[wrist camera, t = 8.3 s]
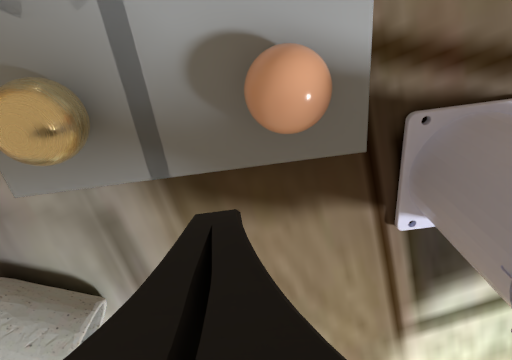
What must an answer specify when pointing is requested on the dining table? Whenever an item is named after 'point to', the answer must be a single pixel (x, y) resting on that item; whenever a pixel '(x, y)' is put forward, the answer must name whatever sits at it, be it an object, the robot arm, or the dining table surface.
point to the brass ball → (41, 121)
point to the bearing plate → (180, 83)
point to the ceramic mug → (45, 320)
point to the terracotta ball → (288, 88)
